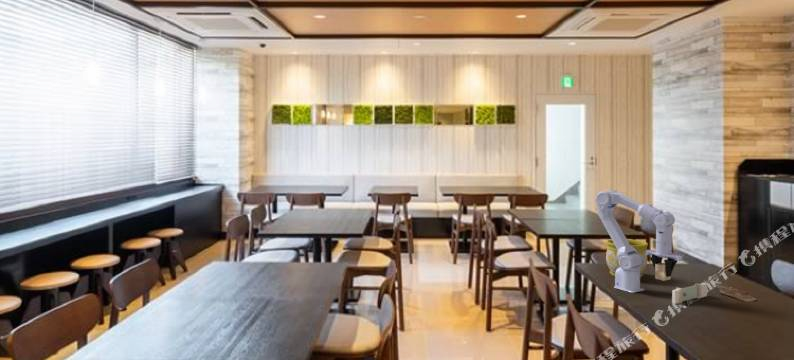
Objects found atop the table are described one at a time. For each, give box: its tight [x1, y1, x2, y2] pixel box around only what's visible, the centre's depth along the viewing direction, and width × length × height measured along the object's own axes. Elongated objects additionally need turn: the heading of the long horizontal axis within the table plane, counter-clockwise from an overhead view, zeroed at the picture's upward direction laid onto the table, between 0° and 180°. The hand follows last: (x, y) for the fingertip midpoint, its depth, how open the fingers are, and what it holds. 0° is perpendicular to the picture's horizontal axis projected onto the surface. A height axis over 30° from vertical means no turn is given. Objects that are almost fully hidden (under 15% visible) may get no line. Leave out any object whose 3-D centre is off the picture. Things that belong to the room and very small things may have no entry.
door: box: [681, 285, 698, 302], centre depth 202 cm, size 2×10×5 cm, turn 118°
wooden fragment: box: [714, 284, 758, 303], centre depth 211 cm, size 26×11×1 cm, turn 169°
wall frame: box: [671, 282, 708, 305], centre depth 202 cm, size 2×21×6 cm, turn 118°
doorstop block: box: [654, 262, 672, 282], centre depth 206 cm, size 4×4×6 cm
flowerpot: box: [605, 238, 649, 279], centre depth 239 cm, size 18×18×16 cm
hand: (663, 275), depth 206 cm, fingers closed on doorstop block, 4 cm apart
